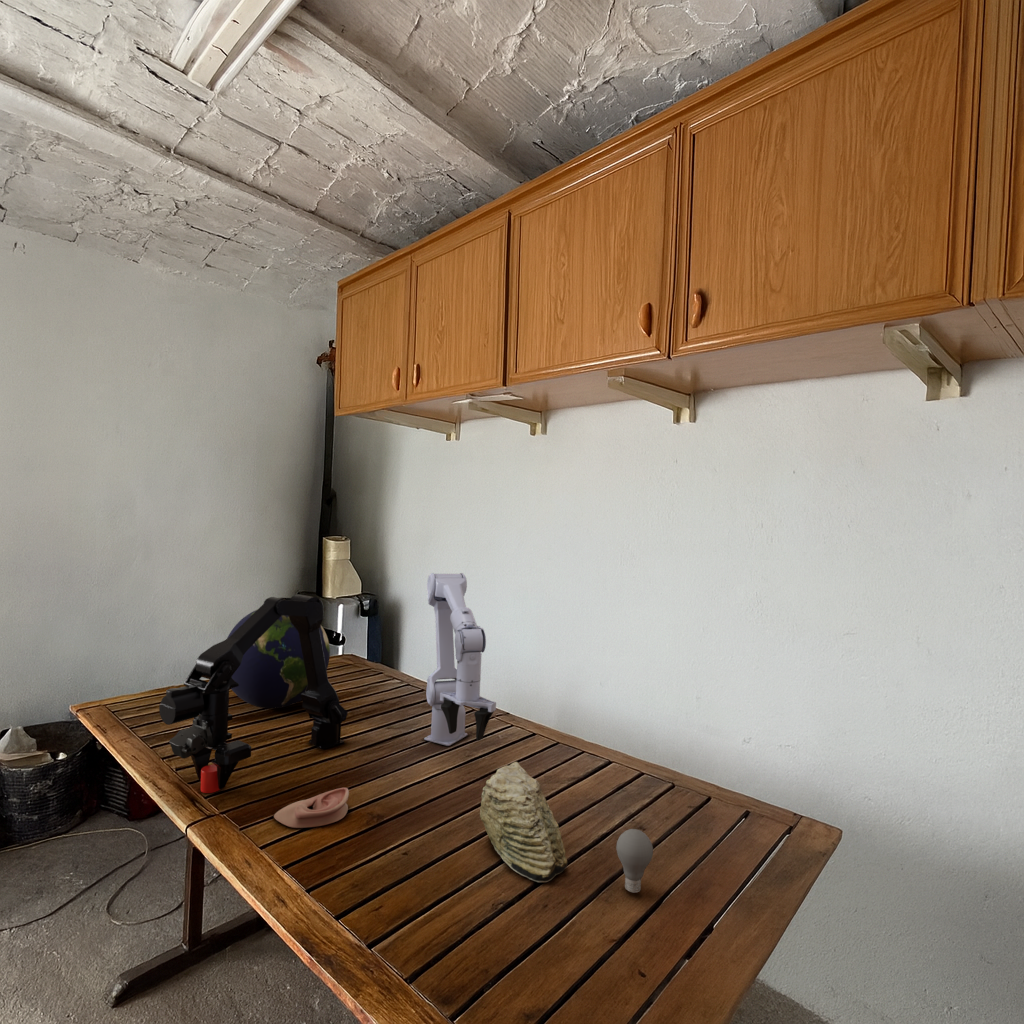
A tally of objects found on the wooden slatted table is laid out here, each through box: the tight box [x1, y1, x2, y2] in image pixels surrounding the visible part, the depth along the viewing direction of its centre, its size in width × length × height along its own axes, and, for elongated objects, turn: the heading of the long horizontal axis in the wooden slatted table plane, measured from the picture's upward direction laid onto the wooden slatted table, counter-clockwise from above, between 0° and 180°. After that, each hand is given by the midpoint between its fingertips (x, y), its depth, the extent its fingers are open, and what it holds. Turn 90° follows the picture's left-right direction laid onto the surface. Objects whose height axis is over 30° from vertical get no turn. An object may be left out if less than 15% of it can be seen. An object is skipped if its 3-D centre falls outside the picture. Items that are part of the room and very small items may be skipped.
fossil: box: [479, 761, 569, 883], centre depth 114 cm, size 9×18×15 cm, turn 46°
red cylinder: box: [200, 763, 221, 794], centre depth 135 cm, size 4×4×4 cm
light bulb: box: [615, 828, 654, 894], centre depth 106 cm, size 6×6×10 cm
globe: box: [226, 608, 331, 709], centre depth 188 cm, size 30×30×30 cm
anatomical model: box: [273, 787, 350, 829], centre depth 126 cm, size 13×4×12 cm
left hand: (211, 783), depth 135 cm, fingers open, 7 cm apart
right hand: (466, 735), depth 151 cm, fingers open, 7 cm apart
